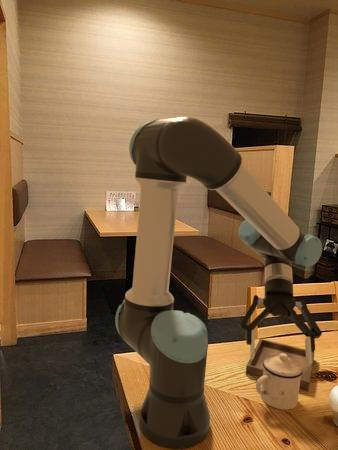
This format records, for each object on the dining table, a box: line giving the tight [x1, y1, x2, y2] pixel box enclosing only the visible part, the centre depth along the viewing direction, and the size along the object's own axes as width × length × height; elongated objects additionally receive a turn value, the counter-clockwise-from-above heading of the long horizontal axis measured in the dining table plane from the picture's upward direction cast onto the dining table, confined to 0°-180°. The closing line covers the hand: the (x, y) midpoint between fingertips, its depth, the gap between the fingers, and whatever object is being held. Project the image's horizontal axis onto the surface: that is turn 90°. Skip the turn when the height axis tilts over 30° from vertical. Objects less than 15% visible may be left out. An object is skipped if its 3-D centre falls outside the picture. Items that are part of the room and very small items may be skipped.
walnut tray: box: [245, 338, 316, 392], centre depth 107 cm, size 16×18×2 cm
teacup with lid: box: [255, 353, 302, 411], centre depth 90 cm, size 12×9×12 cm
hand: (280, 361), depth 93 cm, fingers open, 13 cm apart
